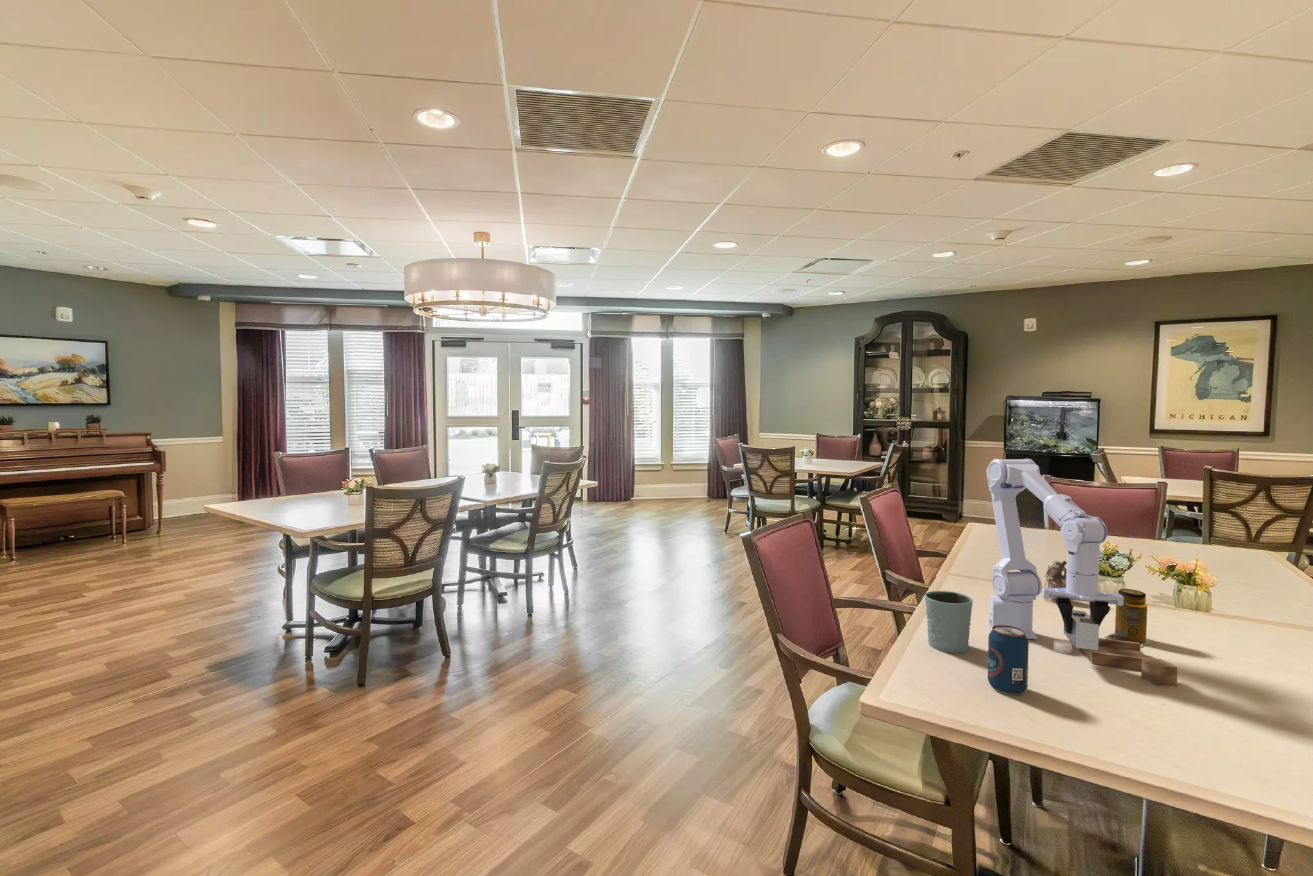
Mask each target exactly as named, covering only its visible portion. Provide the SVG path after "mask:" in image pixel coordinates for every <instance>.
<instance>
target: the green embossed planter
mask: <svg viewBox="0 0 1313 876" xmlns="http://www.w3.org/2000/svg"><path fill="white" fill-rule="evenodd" d="M924 598H925V599H924V600H925V601H924V602H925V607H926V609H925V612H926V618H927V619H926V621H927V639H928V640H927V641H928V645H929V647H930V648H932V647H933V648H932V649H935V650H938V651H939V652H940V651H941V652H943V653H944V652H945V653H948V654H949V653H950V654H963V653H966V652H967V651H968V649H969V640H970V633H971V632H970V629H971V620H972V619H971V616H972V610H973V602H974V601H973V600H974V599H972V598H971V596H969V595H967V594H963V593H960V592H955V591H951V590H950V591H949V590H948V591H947V590H931V591H927V592H926V593H924Z"/></svg>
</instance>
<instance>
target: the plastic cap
mask: <svg viewBox="0 0 1313 876" xmlns="http://www.w3.org/2000/svg"><path fill="white" fill-rule="evenodd" d="M1052 647H1053V648H1052V649H1053V650H1054V651H1055V652H1057V653H1061V654H1065V655H1066V654H1067V655H1070V654H1072V653H1073V644H1072V643H1071V641H1066V640H1062V639H1054V640H1053V646H1052Z"/></svg>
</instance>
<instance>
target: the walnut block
mask: <svg viewBox="0 0 1313 876" xmlns="http://www.w3.org/2000/svg"><path fill="white" fill-rule="evenodd" d="M1140 673H1141V675H1140V676H1141V679H1144V680H1146V682H1149V683H1151V684H1152V685H1155V686H1156V687H1178V666H1176V665H1174V664H1172V663H1170V662H1168V661H1166V660H1164V659H1161V658H1153V659H1142V668H1141V670H1140Z"/></svg>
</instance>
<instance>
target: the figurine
mask: <svg viewBox="0 0 1313 876" xmlns="http://www.w3.org/2000/svg"><path fill="white" fill-rule="evenodd" d="M1065 566H1067V560H1062V561H1059V560H1053V561H1051V562H1050V563H1048V564H1047V571H1046V573H1044V574H1043V576H1044V577H1045V581H1044V586H1043V588H1066V570H1067V567H1065ZM1041 599H1042V600H1043V601H1045V602H1048V603H1051V604H1056V605H1057V603H1056V602H1055V599H1054V598H1049V599H1046V598H1043V597H1041ZM1070 602H1072V600H1070Z"/></svg>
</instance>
